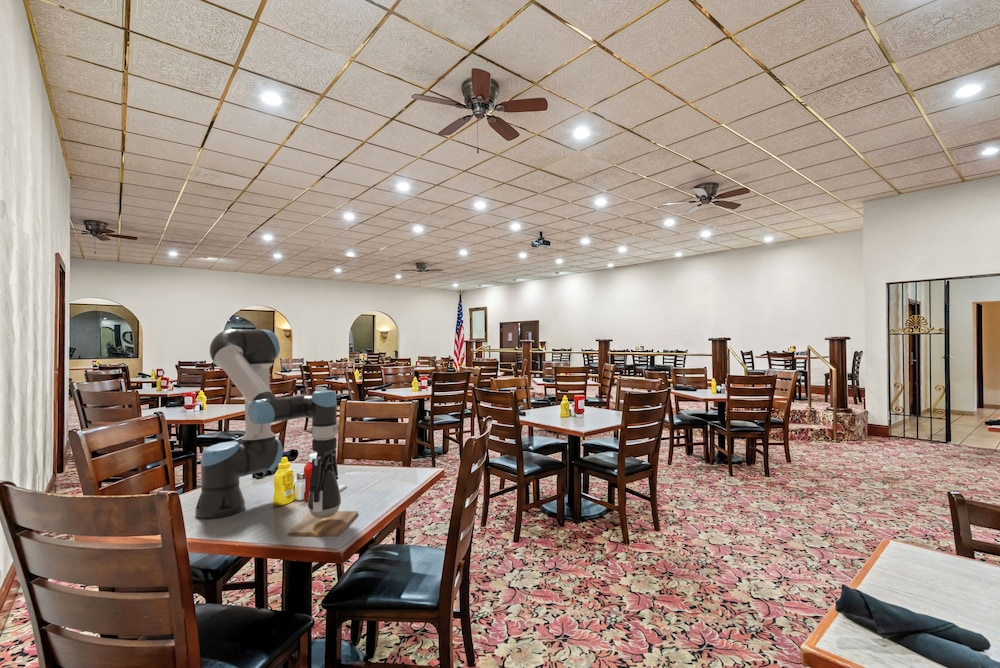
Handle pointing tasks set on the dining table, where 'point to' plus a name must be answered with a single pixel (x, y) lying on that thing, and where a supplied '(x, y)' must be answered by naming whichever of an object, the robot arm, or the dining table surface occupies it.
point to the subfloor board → (323, 524)
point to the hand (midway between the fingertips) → (324, 505)
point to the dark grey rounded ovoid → (327, 496)
